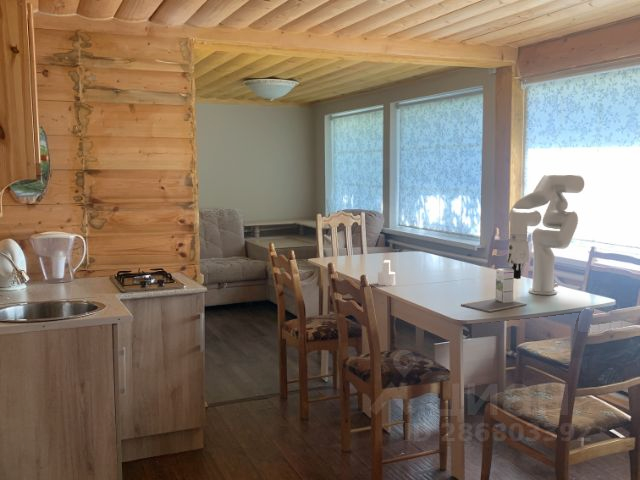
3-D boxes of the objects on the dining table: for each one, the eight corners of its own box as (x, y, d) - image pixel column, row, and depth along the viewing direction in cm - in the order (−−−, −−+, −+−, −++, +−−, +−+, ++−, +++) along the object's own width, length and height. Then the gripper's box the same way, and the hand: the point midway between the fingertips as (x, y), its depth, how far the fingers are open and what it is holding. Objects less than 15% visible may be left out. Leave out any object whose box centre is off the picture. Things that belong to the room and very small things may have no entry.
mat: (497, 298, 294) (497, 297, 294) (526, 305, 281) (526, 303, 281) (460, 305, 280) (460, 304, 280) (489, 312, 267) (489, 310, 267)
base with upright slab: (394, 286, 325) (394, 262, 323) (376, 285, 327) (377, 262, 325) (396, 282, 334) (396, 260, 332) (378, 282, 335) (379, 259, 334)
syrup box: (513, 302, 284) (514, 270, 282) (502, 303, 282) (503, 270, 280) (506, 299, 289) (507, 268, 288) (494, 300, 288) (495, 268, 286)
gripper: (514, 240, 280) (512, 281, 282) (535, 237, 288) (534, 278, 290) (500, 238, 286) (499, 278, 288) (522, 236, 294) (520, 275, 296)
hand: (516, 278), depth 289 cm, fingers closed
